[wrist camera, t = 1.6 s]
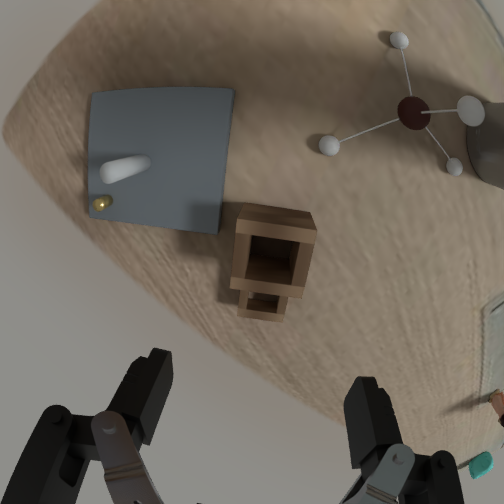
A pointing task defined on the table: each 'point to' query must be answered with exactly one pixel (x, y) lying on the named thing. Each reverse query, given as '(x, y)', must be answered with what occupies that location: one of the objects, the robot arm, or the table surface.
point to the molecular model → (418, 114)
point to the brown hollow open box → (271, 259)
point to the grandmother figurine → (498, 404)
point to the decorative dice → (480, 465)
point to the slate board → (160, 155)
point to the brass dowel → (102, 202)
